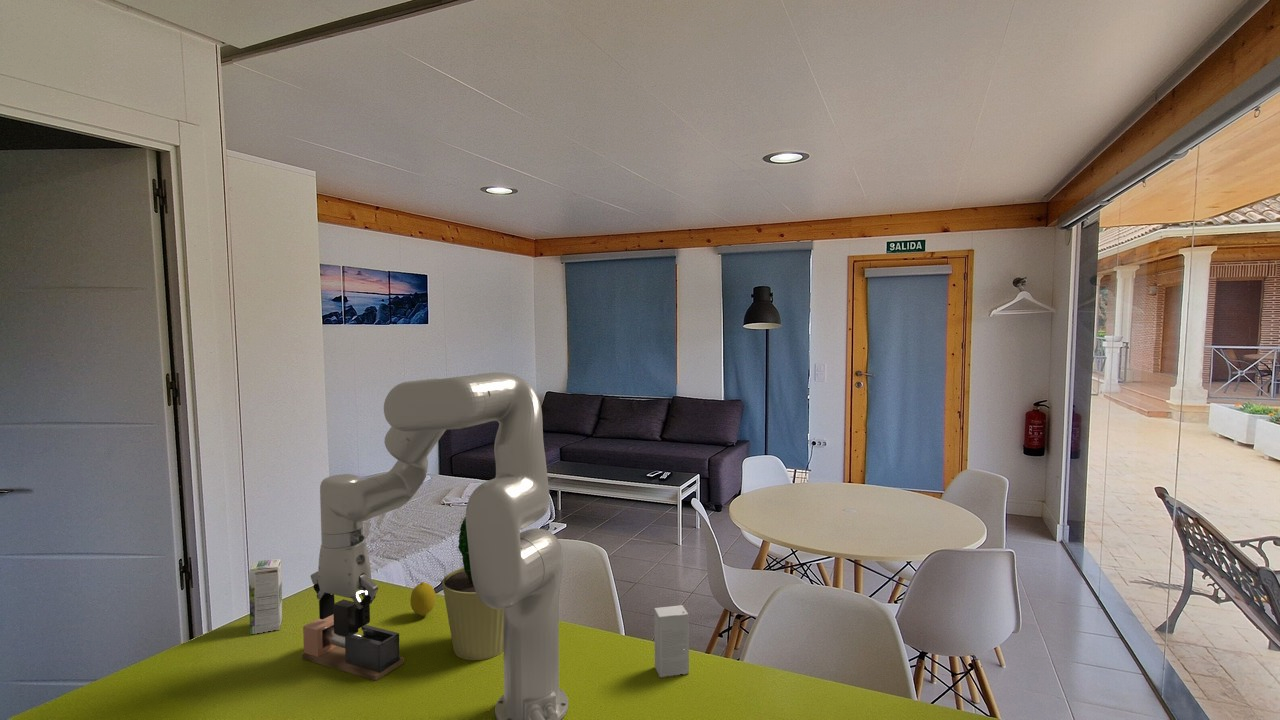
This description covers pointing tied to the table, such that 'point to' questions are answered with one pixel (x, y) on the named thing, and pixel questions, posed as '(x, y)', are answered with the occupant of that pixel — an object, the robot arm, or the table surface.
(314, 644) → the socket block
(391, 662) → the dark grey open box
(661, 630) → the skincare box
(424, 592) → the lemon
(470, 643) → the potted cactus
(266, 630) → the syrup box
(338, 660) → the base board
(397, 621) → the table surface
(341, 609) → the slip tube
